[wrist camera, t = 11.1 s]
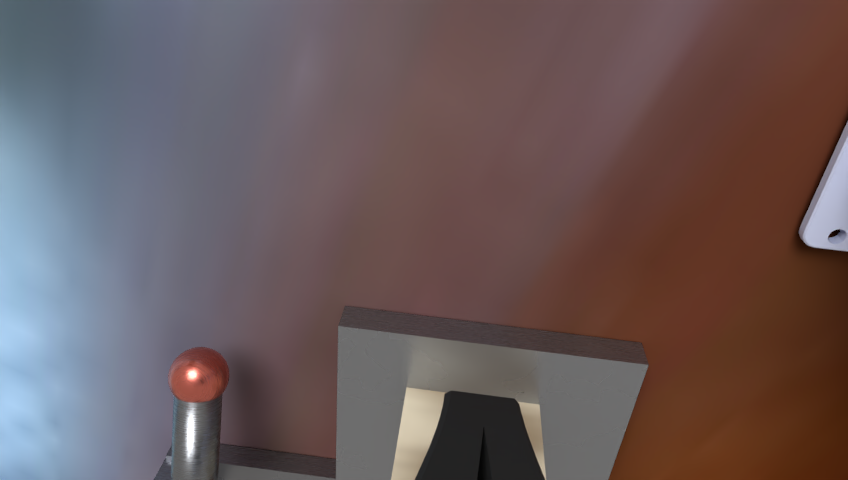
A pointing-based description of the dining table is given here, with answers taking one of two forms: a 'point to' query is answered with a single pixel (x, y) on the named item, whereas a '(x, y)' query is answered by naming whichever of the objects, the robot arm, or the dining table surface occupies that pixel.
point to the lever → (197, 413)
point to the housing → (423, 422)
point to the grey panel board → (466, 372)
